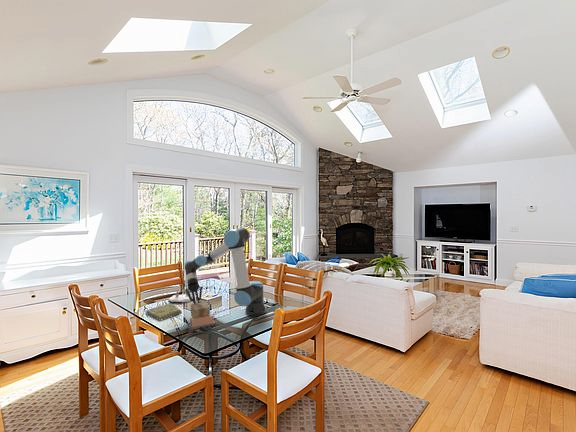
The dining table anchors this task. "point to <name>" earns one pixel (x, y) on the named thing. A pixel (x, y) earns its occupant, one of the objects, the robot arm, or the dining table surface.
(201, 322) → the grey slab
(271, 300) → the dining table surface
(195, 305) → the oak block
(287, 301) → the dining table surface
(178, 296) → the figurine
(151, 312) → the decorative tile
